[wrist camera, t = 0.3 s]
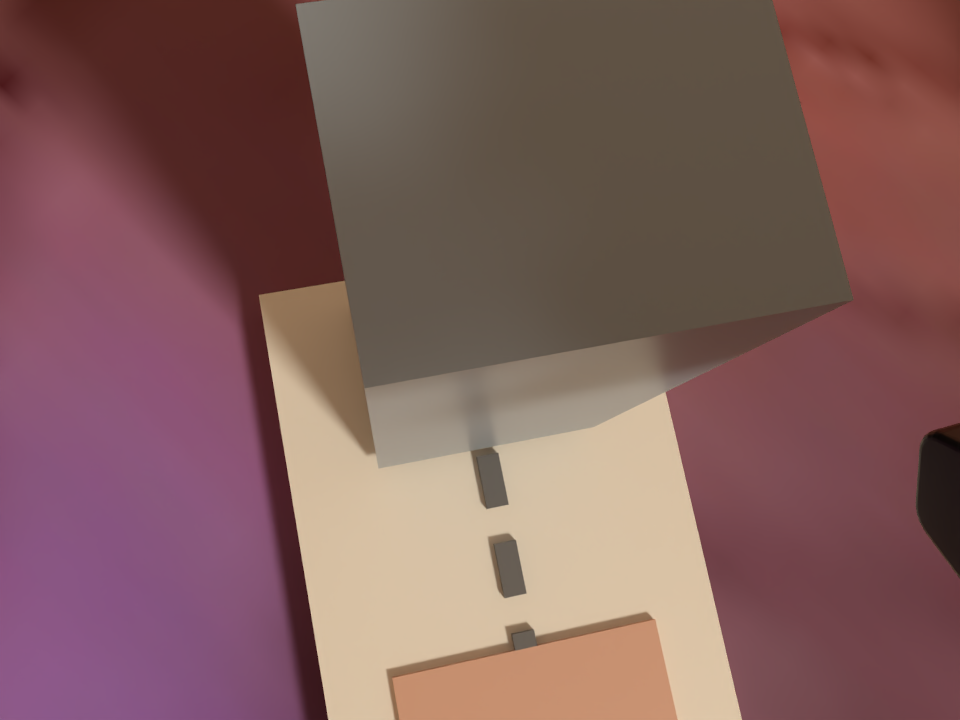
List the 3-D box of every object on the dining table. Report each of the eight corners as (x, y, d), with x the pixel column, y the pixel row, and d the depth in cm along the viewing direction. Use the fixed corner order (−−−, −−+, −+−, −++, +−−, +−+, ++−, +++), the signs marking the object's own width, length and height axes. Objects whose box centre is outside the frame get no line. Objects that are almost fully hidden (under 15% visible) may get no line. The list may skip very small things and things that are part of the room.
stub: (593, 427, 21) (853, 299, 9) (378, 468, 20) (364, 388, 9) (557, 261, 22) (757, -54, 10) (347, 296, 21) (295, 3, 9)
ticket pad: (817, 1122, 20) (849, 1165, 19) (419, 1244, 19) (422, 1299, 18) (616, 248, 24) (630, 231, 22) (265, 307, 22) (257, 292, 21)
